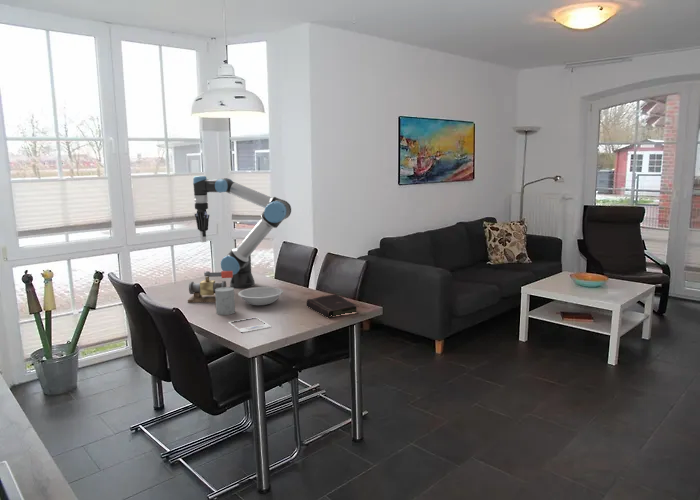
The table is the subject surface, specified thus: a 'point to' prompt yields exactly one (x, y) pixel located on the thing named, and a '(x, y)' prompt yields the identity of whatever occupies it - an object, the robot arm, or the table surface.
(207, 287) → the valve stand
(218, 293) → the speckled concrete cylinder
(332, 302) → the diary
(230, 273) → the lever
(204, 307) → the table surface
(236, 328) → the photo frame
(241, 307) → the table surface
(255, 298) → the sink basin
